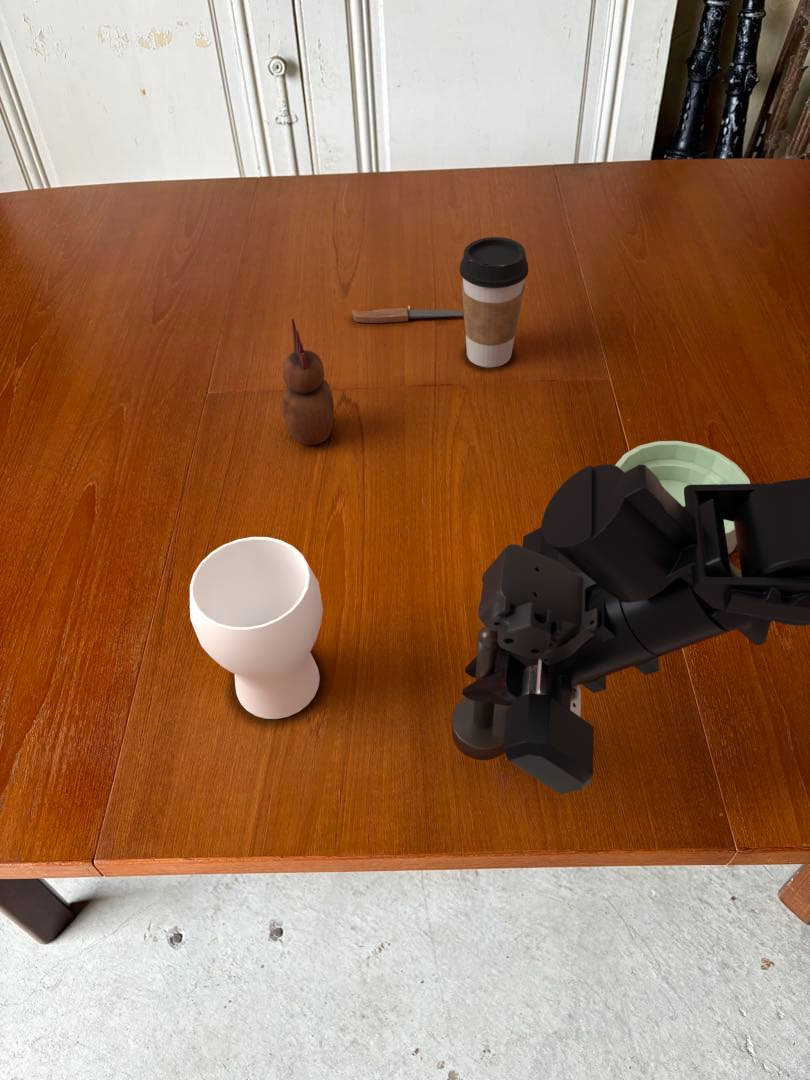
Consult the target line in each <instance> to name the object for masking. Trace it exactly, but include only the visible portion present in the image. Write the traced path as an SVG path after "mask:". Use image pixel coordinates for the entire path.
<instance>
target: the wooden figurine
mask: <svg viewBox="0 0 810 1080" xmlns="http://www.w3.org/2000/svg"><path fill="white" fill-rule="evenodd" d="M291 330H292V342H293V343H292V344H293V352H290V353H289V354H288V355H287V356H286V358H285V359H284V361H283V363H282V376H283V382H284V383H285V388H284V391H283V392H282V393H283V395H282V413H283V418H284V422H285V425H286V428H287V430H288V432H289V433H290V435H291V437H292V438H293V439H294V440H295V441H297V442H298V443H300V444H302V445H306V446H316V445H319V444H321V443H323V442H325V441H327V439H328V438H329V437H330V435H331V432H332V430H333V424H334V417H335V416H334V415H335V409H334V408H335V403H334V397H333V392H332V389H331V386H330V385H329V383H328V381H327V380H325V369H324V363H323V362H322V359H321V358H320V356H319V355H318V354H317V353H316V352H314V351H312V350H309V349H304V346H303V343H302V341H301V337H300V334H299V333H300V332H299V330H298V329H297V326H296V323H295V319H294V318H291Z"/></svg>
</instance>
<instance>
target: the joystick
mask: <svg viewBox="0 0 810 1080" xmlns="http://www.w3.org/2000/svg"><path fill="white" fill-rule="evenodd" d="M497 640H498V632H497V630H493V629H491V628H489V627H487V626H485V625H484V626H483V627H482V628H481V629H480V630H479V631H478V635H477V645H476V646H477V647H476V656H477V661H476V678H474V679H475V680H474V682H475V681H478V680H480V679H482V678H484V677H487V676H489V675H491V674H493V673H496V672H498V666H499V655H500V646H499V644H498V642H497ZM509 708H510V706H505V705H499V704H492V703H486V702H480V701H473V700H470V699H468V698H467V697H465V696H464V697H463V698H462V699H461V700H460V701H459V702H458V703H457V704H456V706H455V707H454V708H453V711H452V715H451V737H452V741H453V743H454V744H455V747H456V748H457V749H458V750H459V751H460V752H461V753H462V754H463V755H465V756H466V757H467V758H470V759H473V760H477V761H491V760H495V759H497V758H499V757H501V756H502V755H503V754H505V752H504V750H503V742H504V732H505V722H506V712H507V710H508V709H509Z"/></svg>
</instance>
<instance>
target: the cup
mask: <svg viewBox="0 0 810 1080" xmlns="http://www.w3.org/2000/svg"><path fill="white" fill-rule="evenodd" d="M322 600H323V599H322V593H321V588H320V583H319V580H318V579H317V577H316V576H315V573H314V572H313V569H312V568H311V567H310V564H309V563H308V561H307V560H306V558H305V556H304V555H303V554H302V552H301V551H299V550H298V549H297V548H296V547H295V546H293V545H291V544H290V543H287V542H285V541H283V540H282V539H277V538H273V537H269V536H250V537H245V538H238V539H235V540H233V541H230V542H228V543H225V544H222V545H221V546H219V547H218V548H216V549H215V550H213V551H211V552H210V553H209V554H208V555H207V556H206V557H205V558H204V559H203V560H202V561H200V563H199V565H198V566H197V567H196V569H195V571H194V572H193V574H192V578H191V581H190V584H189V617H190V622H191V625H192V627H193V630H194V632H195V635H196V637H197V639H198V642H199V644H200V646H201V648H202V649H203V650H204V651H205V652H206V653H207V654H208V656H209V657H210V658H211V659H212V660H214V661H215V662H216V663H217V664H218V665H219V666H220V667H221V668H223V669H225V670H226V671H228V672H230V673H232V674H233V675H234V685H235V695H236V696H237V699H238V701H239V703H240V705H241V706H242V707H243V708H244V709H245V710H246V711H247V712H248V713H250V714H252V715H253V716H255V717H258V718H262V719H265V720H266V719H267V720H278V719H283V718H288V717H291V716H293V715H295V714H297V713H299V712H301V711H302V710H303V709H304V708H306V707H307V706H309V704H310V703H311V702H312V701H313V699H314V698H315V696H316V694H317V692H318V689H319V686H320V680H321V678H320V677H321V676H320V672H319V668H318V666H317V663H316V661H315V659H314V657H313V654H312V653H311V651H312V649H313V647H314V645H315V643H316V641H317V639H318V636H319V633H320V629H321V625H322V622H323V614H324V606H323V601H322Z"/></svg>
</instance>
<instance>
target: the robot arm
mask: <svg viewBox="0 0 810 1080" xmlns="http://www.w3.org/2000/svg"><path fill="white" fill-rule="evenodd" d="M684 499H685V506H684V507H683V506H682V505H681V504H680V503H679V502H678V501H677V500H676V499H675V498H674V497H673V496H672V495H671V494H670V493H669V492H667V491H666V490H665V489H664V487H663V486H662V485H661V483H660V481H659V479H658V478H657V476H656V475H655V474H654V473H653V472H652V471H651V470H650V469H649V468H648V467H647V466H646V465H641V464H640V465H638V466H636V467H634V468H632V469H630V470H628V471H627V472H625V473H624V472H623V471H622V470H621V469H620V468H619V467H618V466H615V465H614V464H611V463H605V464H603V463H602V464H599V465H595V466H592V465H587V466H586V467H584V468H581V469H579V470H578V471H577V472H576V473H574V474H573V475H571V476H570V477H569V478H568V479H567V480H566V481H564V482H563V484H561V485H560V487H558V489H557V490H556V491H555V493H554V494H553V496H552V497H551V499H550V501H549V502H548V503H547V506H546V508H545V510H544V511H543V512H544V513H543V515H542V520H541V526H540V527H539V528H536V529H535V530H533V531H531V532H529V533H527V534H525V535H524V536H523V537H522V545H519V544H516V543H511V544H508V545H507V546H506V547H505V548H504V549H503V550H502V551H501V553H499V555H498V556H497V557H496V558H495V559H494V560H493V562H492V563H491V564H490V565H489V566H488V568H487V569H486V570H485V571H484V572H483V574H482V578H481V582H482V585H481V586H482V588H481V593H480V594H481V595H480V601H479V604H478V608H477V615H478V618H479V621H480V622H481V623H482V624H483V625H484V627H485V626H487V627H489V628H491V629H493V630H497V632H498V640H497V642H498V644H499V646H500V655H499V666H498V672H496V673H493V674H491V675H489V676H487V677H484V678H482V679H480V680H478V681H475V680H474V682H472V683H469V684H468V685H467V686H465V687H464V688H462V690H461V695H462V696H464V698H465V697H467V698H468V699H470V700H473V701H480V702H486V703H492V704H499V705H505V706H509V707H510V708H509V709H508V710H507V712H506V722H505V732H504V742H503V750H504V752H505V753H504V755H505V756H506V759H507V762H509V763H511V764H512V765H514V766H516V767H517V768H519V769H520V770H522V771H523V772H525V773H527V774H528V775H529V776H531V777H533V778H534V779H536V780H538V781H539V782H541V783H542V784H544V785H545V786H547V787H548V788H550V789H551V790H553V791H555V792H557V793H558V794H560V795H566V794H569V793H573V792H577V791H581V790H584V789H585V788H587V787H589V786H590V785H591V783H592V779H593V777H594V743H595V742H594V740H595V738H594V737H595V726H593V725H592V724H591V723H589V722H588V721H587V720H585V719H583V718H582V717H581V716H582V689H581V687H580V685H582V686H583V687H584V688H585V689H586V690H589V692H591V693H593V694H596V693H598V692H601V691H604V690H606V689H607V676H610V675H612V674H615V673H618V672H621V671H623V670H626V669H630V668H632V667H635V668H636V670H638V671H639V672H641V673H643V675H644V676H648V675H651V674H654V673H658V672H660V657H662V656H665V655H668V654H671V653H673V652H677V651H680V650H682V649H685V648H688V647H691V646H694V645H696V644H699V643H702V642H704V641H707V640H710V639H713V638H716V637H719V636H721V635H724V634H727V633H730V632H733V631H735V630H737V631H738V632H740V633H741V634H742V635H743V636H744V637H745V638H746V639H748V640H749V642H751V643H752V644H753V645H755V646H762V645H764V644H766V641H767V637H768V634H769V630H770V626H771V624H772V622H775V623H779V624H782V625H786V626H795V627H798V626H799V627H806V626H810V477H803V478H794V479H786V480H781V481H775V482H773V483H771V482H770V483H769V482H768V483H766V482H765V483H751V484H701V485H688V486H686V487H685V488H684ZM724 520H728V521H733V522H734V527H735V535H736V541H737V546H736V549H737V554H738V561H739V568H740V569H738V567H736V566H735V565H734V563H732V562H731V561H730V556H729V555H730V553H729V554H728V547H727V540H726V533H725V526H724ZM476 661H477V655H476V656H475V657H474V658H473V659H472V660H471V661H470V662H469V663H468V664H467V665H466V666H465V669H464V672H465V674H467V675H468V676H470V677H471V678H473V679H475V678H476Z"/></svg>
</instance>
